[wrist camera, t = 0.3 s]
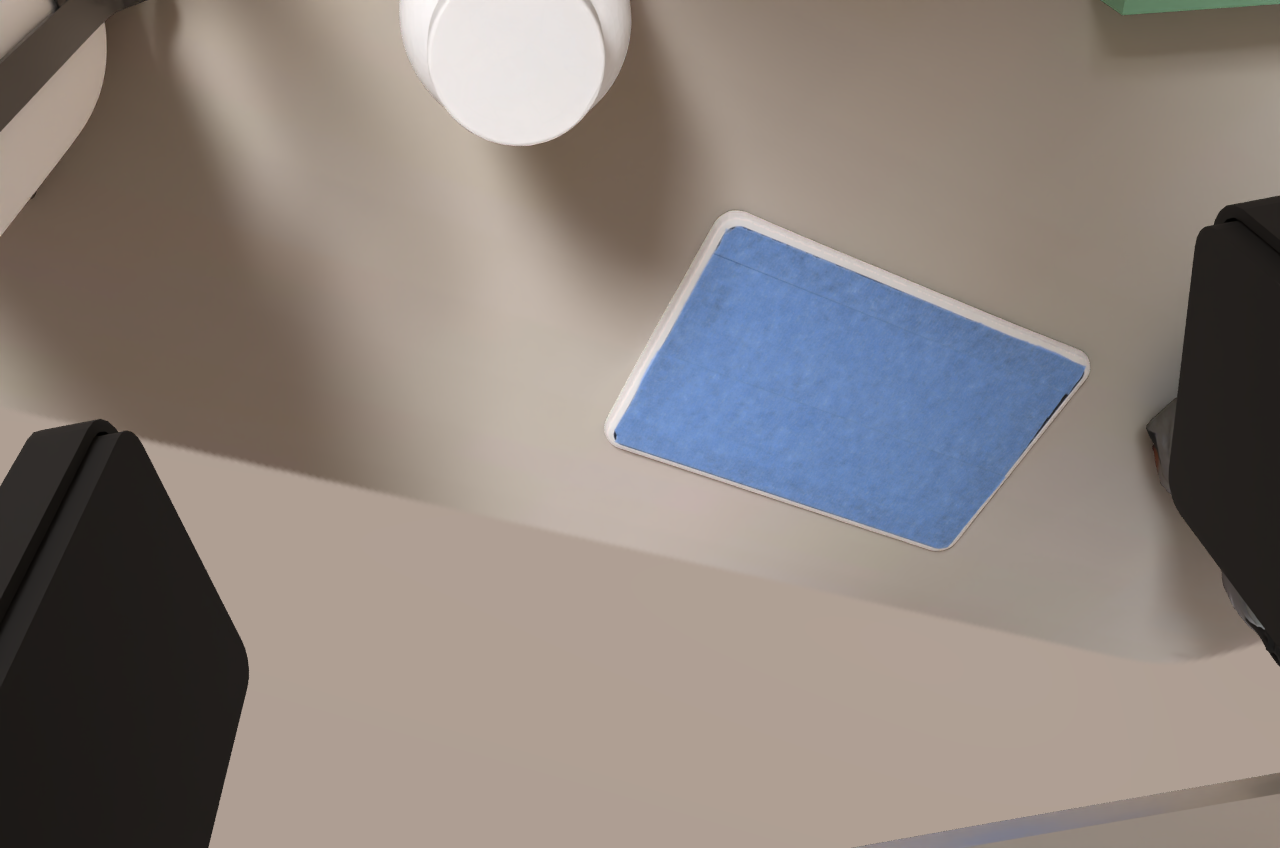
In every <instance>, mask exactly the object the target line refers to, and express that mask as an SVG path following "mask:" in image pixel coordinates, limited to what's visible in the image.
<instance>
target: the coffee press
mask: <svg viewBox="0 0 1280 848" xmlns="http://www.w3.org/2000/svg"><path fill="white" fill-rule="evenodd" d="M144 1H147V0H0V236H1V235H2V234H3V233H4V231H5V230H6V229H7V227H8V226H9V225H10V224H11V222H12V221H13V220H14V218H15V217H16V216H17V215H18V213H19V212H20V211H21V209H22V208H23V207H24V206H25V204H26V203H27V202H28V200H29V199H32V198H33V197H34V196H35V194H36V190H37V189H38V188H39V186H40V185H41V184H42V182H43V181H44V180H45V179H46V177H47V176H48V175H49V173H50V172H51V171H52V170H53V168H54V167H55V166H56V164H57V163H58V162H59V160H60V159H61V158H62V156H63V155H64V154H65V153H66V151H67V150H68V149H69V147H70V146H71V145H72V143H73V142H74V140H75V139H76V138H77V136H78V135H79V133H80V132H81V131H82V129H83V128H84V126H85V124H86V123H87V121H88V119H89V118H90V116H91V114H92V112H93V110H94V108H95V105H96V103H97V100H98V98H99V95H100V92H101V88H102V84H103V80H104V75H105V68H106V57H107V41H106V29H105V21H106V20H107V19H108V18H109V17H110V16H111V15H113V14H114V13H116V12H118V11H120V10H122V9H125V8H127V7H130V6H133V5H136V4H138V3H141V2H144Z"/></svg>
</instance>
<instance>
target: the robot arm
mask: <svg viewBox="0 0 1280 848" xmlns="http://www.w3.org/2000/svg"><path fill="white" fill-rule="evenodd" d="M1168 479H1169V487H1170V491H1171V495H1172V499H1173V501H1174V504H1175V506H1176V508H1177V510H1178V511H1179V513H1180V515H1181V516H1182V517H1183V519H1184V520H1185V521H1186V523H1187V524H1188V525H1189V527H1190V528H1191V530H1192V531H1193V532H1194V534H1195V535H1196V536H1197V538H1198V539H1199V540H1200V542H1201V543H1202V544H1203V546H1204V547H1205V548H1206V550H1207V551H1208V553H1209V554H1210V555H1211V557H1212V558H1213V559H1214V561H1215V562H1216V563H1217V565H1218V566H1219V567H1220V569H1221V570H1222V572H1223V573H1224V574H1225V576H1226V577H1227V578H1228V580H1229V581H1230V582H1231V584H1232V585H1233V586H1234V588H1235V589H1236V591H1237V592H1238V593H1239V595H1240V596H1241V597H1242V599H1243V600H1244V601H1245V603H1246V604H1247V605H1248V607H1249V608H1250V609H1251V611H1252V612H1253V614H1254V615H1255V616H1256V618H1257V619H1258V620H1259V622H1260V623H1261V624H1262V626H1263V627H1264V628H1265V630H1266V631H1267V633H1268V634H1269V635H1270V637H1271V638H1272V639H1273V641H1274V642H1275V643H1276V645H1277V646H1278V647H1279V649H1280V196H1275V197H1270V198H1265V199H1259V200H1254V201H1249V202H1244V203H1238V204H1233V205H1228V206H1226V207H1224V208H1223V209H1222V210H1221V211H1220V212H1219V214H1218V216H1217V218H1216V219H1215V222H1214V225H1212V226H1207V227H1204V228H1203V229H1202V230H1201V231H1200V233H1199V235H1198V237H1197V240H1196V245H1195V251H1194V260H1193V268H1192V276H1191V285H1190V293H1189V302H1188V310H1187V319H1186V327H1185V336H1184V344H1183V353H1182V361H1181V370H1180V378H1179V387H1178V395H1177V403H1176V412H1175V420H1174V429H1173V437H1172V446H1171V454H1170V463H1169V477H1168ZM248 680H249V666H248V658H247V654H246V650H245V647H244V645H243V643H242V640H241V638H240V636H239V634H238V632H237V630H236V628H235V626H234V624H233V622H232V620H231V618H230V616H229V615H228V612H227V611H226V609H225V607H224V605H223V603H222V601H221V599H220V597H219V595H218V593H217V591H216V589H215V587H214V585H213V583H212V581H211V579H210V577H209V575H208V573H207V571H206V569H205V567H204V565H203V563H202V561H201V559H200V557H199V555H198V553H197V551H196V550H195V547H194V545H193V544H192V542H191V540H190V538H189V536H188V534H187V532H186V530H185V528H184V526H183V524H182V522H181V520H180V518H179V516H178V514H177V512H176V510H175V508H174V506H173V504H172V502H171V500H170V498H169V496H168V494H167V492H166V490H165V488H164V486H163V484H162V482H161V480H160V478H159V476H158V474H157V473H156V470H155V468H154V466H153V464H152V462H151V460H150V459H149V457H148V455H147V453H146V451H145V449H144V447H143V445H142V443H141V442H140V440H139V438H138V437H137V436H136V435H135V434H134V433H132V432H130V431H123V432H118V431H117V430H116V428H115V427H114V426H113V425H111V424H110V423H109V422H108V421H105V420H102V419H98V420H93V421H88V422H82V423H77V424H72V425H66V426H61V427H56V428H51V429H45V430H41V431H38V432H34V433H33V434H32V435H31V436H30V437H29V439H28V440H27V441H26V443H25V445H24V446H23V448H22V450H21V452H20V453H19V455H18V457H17V459H16V460H15V462H14V464H13V465H12V467H11V469H10V470H9V472H8V474H7V476H6V477H5V479H4V481H3V483H2V485H1V486H0V848H208V846H209V842H210V838H211V834H212V830H213V826H214V822H215V818H216V813H217V810H218V806H219V801H220V797H221V793H222V789H223V785H224V780H225V777H226V773H227V768H228V765H229V760H230V756H231V752H232V748H233V744H234V740H235V736H236V732H237V728H238V723H239V719H240V715H241V711H242V707H243V703H244V699H245V695H246V691H247V686H248ZM855 848H1280V773H1275V774H1269V775H1264V776H1258V777H1252V778H1246V779H1241V780H1235V781H1229V782H1224V783H1218V784H1212V785H1206V786H1200V787H1195V788H1189V789H1184V790H1177V791H1172V792H1166V793H1160V794H1154V795H1149V796H1143V797H1138V798H1132V799H1126V800H1120V801H1115V802H1109V803H1103V804H1097V805H1091V806H1086V807H1080V808H1074V809H1068V810H1063V811H1057V812H1052V813H1045V814H1040V815H1035V816H1028V817H1023V818H1017V819H1011V820H1005V821H1000V822H994V823H988V824H983V825H977V826H972V827H966V828H960V829H955V830H949V831H943V832H938V833H932V834H927V835H922V836H915V837H910V838H905V839H899V840H893V841H888V842H882V843H876V844H871V845H865V846H860V847H855Z"/></svg>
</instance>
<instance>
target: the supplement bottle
mask: <svg viewBox="0 0 1280 848" xmlns="http://www.w3.org/2000/svg"><path fill="white" fill-rule="evenodd" d="M399 18H400V28H401V35H402V39H403V44H404V48H405V51H406V54H407V56H408V59H409V61H410V63H411V65H412V67H413V69H414V71H415V73H416V75H417V77H418V78H419V80H420V81H421V83H422V84H423V86H424V87H425V88H426V90H427V91H428V92H429V93H430V94H431V95H432V97H433V98H434V99H435V100H436V101H437V102H438V103H439V104H441V105H442V106H443V107H444V108H445V109H446V110H447V111H448V113H449V114H450V115H451V116H452V118H454V119H455V120H456V121H457V122H458V123H459V124H460V125H462V126H463V127H464V128H465V129H467V130H468V131H470V132H471V133H473V134H475V135H477V136H479V137H481V138H483V139H486V140H488V141H491V142H494V143H497V144H502V145H508V146H530V145H536V144H540V143H544V142H547V141H550V140H552V139H555V138H557V137H559V136H561V135H563V134H565V133H566V132H568V131H569V130H570V129H572V128H573V127H574V126H575V125H577V124H578V123H579V122H580V121H581V120H582V119H583V117H584V116H585V115H586V114H587V113H588V111H589V110H590V109H592V108H593V107H594V106H595V105H596V104H597V103H598V102H599V101H600V100H601V99H602V98H603V97H604V95H605V94H606V93H607V92H608V90H609V89H610V87H611V86H612V85H613V83H614V81H615V80H616V78H617V76H618V74H619V72H620V70H621V68H622V65H623V63H624V60H625V57H626V54H627V50H628V46H629V42H630V35H631V23H632V21H631V5H630V0H400V5H399Z"/></svg>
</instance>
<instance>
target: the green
mask: <svg viewBox="0 0 1280 848" xmlns="http://www.w3.org/2000/svg"><path fill="white" fill-rule="evenodd" d="M1101 1H1102V2H1104V3H1105V4H1107V5H1108V6H1110V7H1111V8H1113V9H1114V10H1115V11H1117V12H1118V13H1120V14H1121V15H1132V14H1146V13H1160V12H1174V11H1188V10H1202V9H1216V8H1230V7H1244V6H1257V5H1271V4H1280V0H1101Z"/></svg>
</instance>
